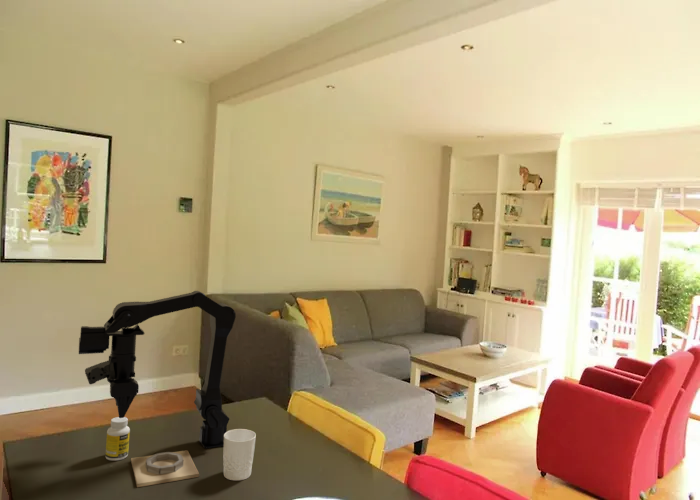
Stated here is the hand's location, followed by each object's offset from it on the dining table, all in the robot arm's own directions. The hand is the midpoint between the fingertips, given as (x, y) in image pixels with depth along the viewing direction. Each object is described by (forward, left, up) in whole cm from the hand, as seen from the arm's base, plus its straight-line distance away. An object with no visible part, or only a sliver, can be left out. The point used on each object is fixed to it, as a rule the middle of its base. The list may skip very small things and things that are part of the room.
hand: (119, 411), depth 128 cm
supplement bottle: (0, 0, -12) cm, 12 cm away
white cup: (-26, +20, -12) cm, 35 cm away
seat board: (-10, +11, -12) cm, 19 cm away
